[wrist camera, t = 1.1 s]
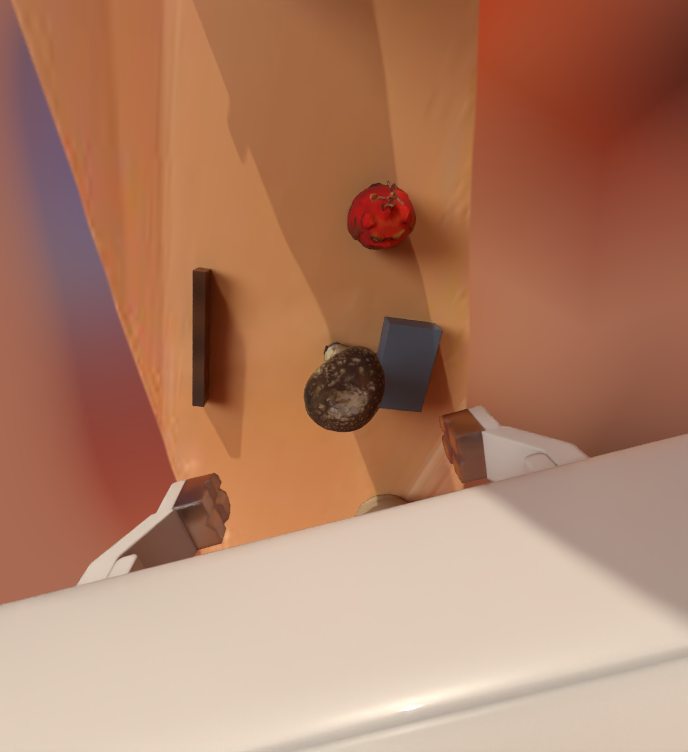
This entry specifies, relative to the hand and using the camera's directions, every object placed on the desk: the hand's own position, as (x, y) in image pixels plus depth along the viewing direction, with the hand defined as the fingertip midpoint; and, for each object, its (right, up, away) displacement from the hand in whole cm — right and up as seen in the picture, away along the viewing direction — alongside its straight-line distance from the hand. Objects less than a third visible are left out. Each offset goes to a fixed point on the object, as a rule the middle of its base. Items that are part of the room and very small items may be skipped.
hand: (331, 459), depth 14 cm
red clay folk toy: (+4, +22, +33) cm, 40 cm away
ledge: (-18, +8, +37) cm, 42 cm away
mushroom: (0, +6, +39) cm, 40 cm away
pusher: (+8, +5, +40) cm, 42 cm away
